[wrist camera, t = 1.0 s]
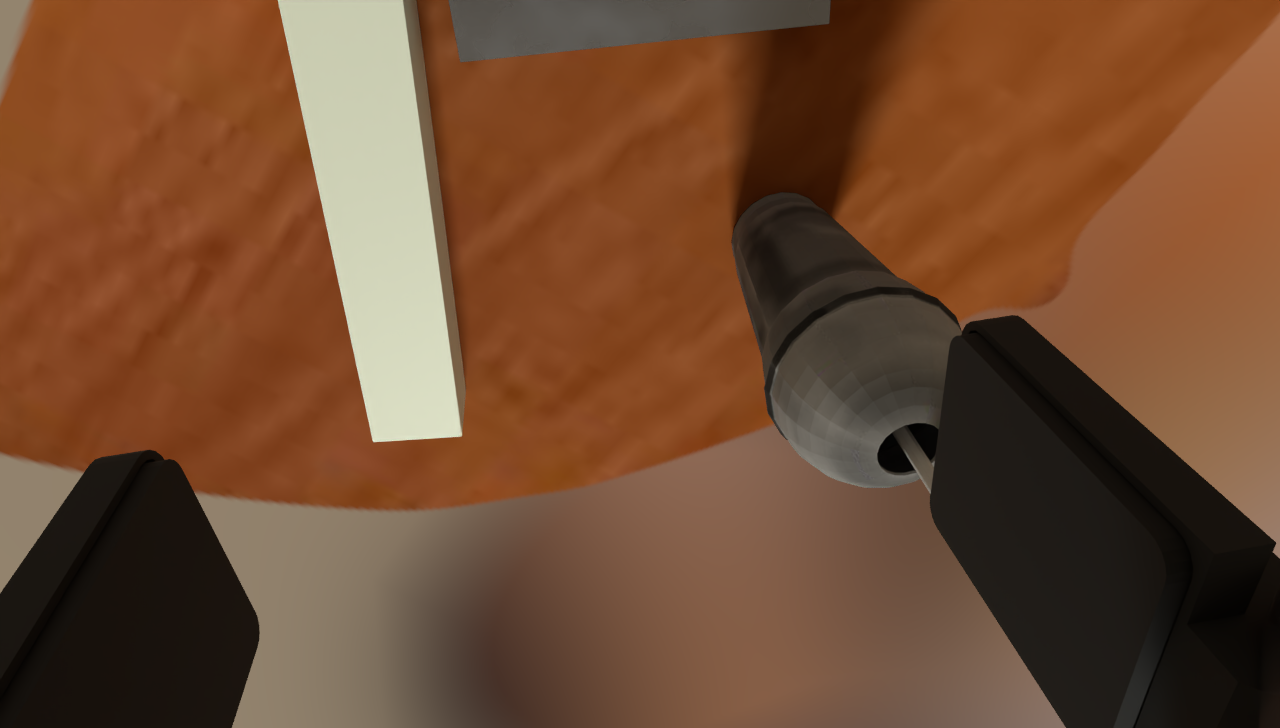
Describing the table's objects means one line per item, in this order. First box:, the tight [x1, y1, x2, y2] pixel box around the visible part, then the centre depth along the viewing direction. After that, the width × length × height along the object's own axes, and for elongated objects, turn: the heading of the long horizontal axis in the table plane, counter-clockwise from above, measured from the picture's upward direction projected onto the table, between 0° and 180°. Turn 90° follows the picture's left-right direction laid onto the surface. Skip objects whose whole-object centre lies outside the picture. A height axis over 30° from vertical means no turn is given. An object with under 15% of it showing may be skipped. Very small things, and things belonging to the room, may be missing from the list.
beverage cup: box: [732, 192, 962, 494], centre depth 30 cm, size 7×7×20 cm
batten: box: [278, 0, 466, 442], centre depth 33 cm, size 22×4×4 cm, turn 179°
